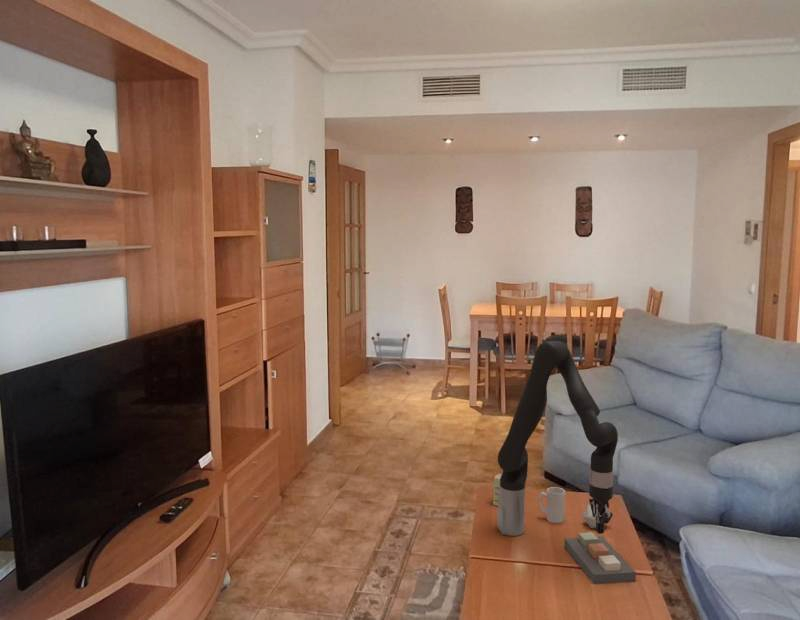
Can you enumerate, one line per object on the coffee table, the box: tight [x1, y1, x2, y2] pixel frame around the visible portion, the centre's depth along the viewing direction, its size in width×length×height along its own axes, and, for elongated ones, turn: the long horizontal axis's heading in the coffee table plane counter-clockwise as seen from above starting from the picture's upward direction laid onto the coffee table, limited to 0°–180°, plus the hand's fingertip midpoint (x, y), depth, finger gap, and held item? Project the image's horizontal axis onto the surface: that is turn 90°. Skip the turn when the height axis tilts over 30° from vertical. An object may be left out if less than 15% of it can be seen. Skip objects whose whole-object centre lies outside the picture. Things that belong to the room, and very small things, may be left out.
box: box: [492, 473, 502, 507], centre depth 250 cm, size 10×6×12 cm, turn 65°
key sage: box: [578, 531, 598, 547], centre depth 212 cm, size 5×5×4 cm
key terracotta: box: [588, 543, 609, 559], centre depth 204 cm, size 5×5×4 cm
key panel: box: [563, 535, 637, 585], centre depth 205 cm, size 14×24×3 cm, turn 7°
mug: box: [537, 486, 566, 524], centre depth 236 cm, size 10×7×12 cm, turn 80°
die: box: [582, 504, 607, 529], centre depth 231 cm, size 8×9×10 cm
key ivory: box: [598, 555, 621, 572], centre depth 197 cm, size 5×5×4 cm
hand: (599, 532), depth 204 cm, fingers closed
